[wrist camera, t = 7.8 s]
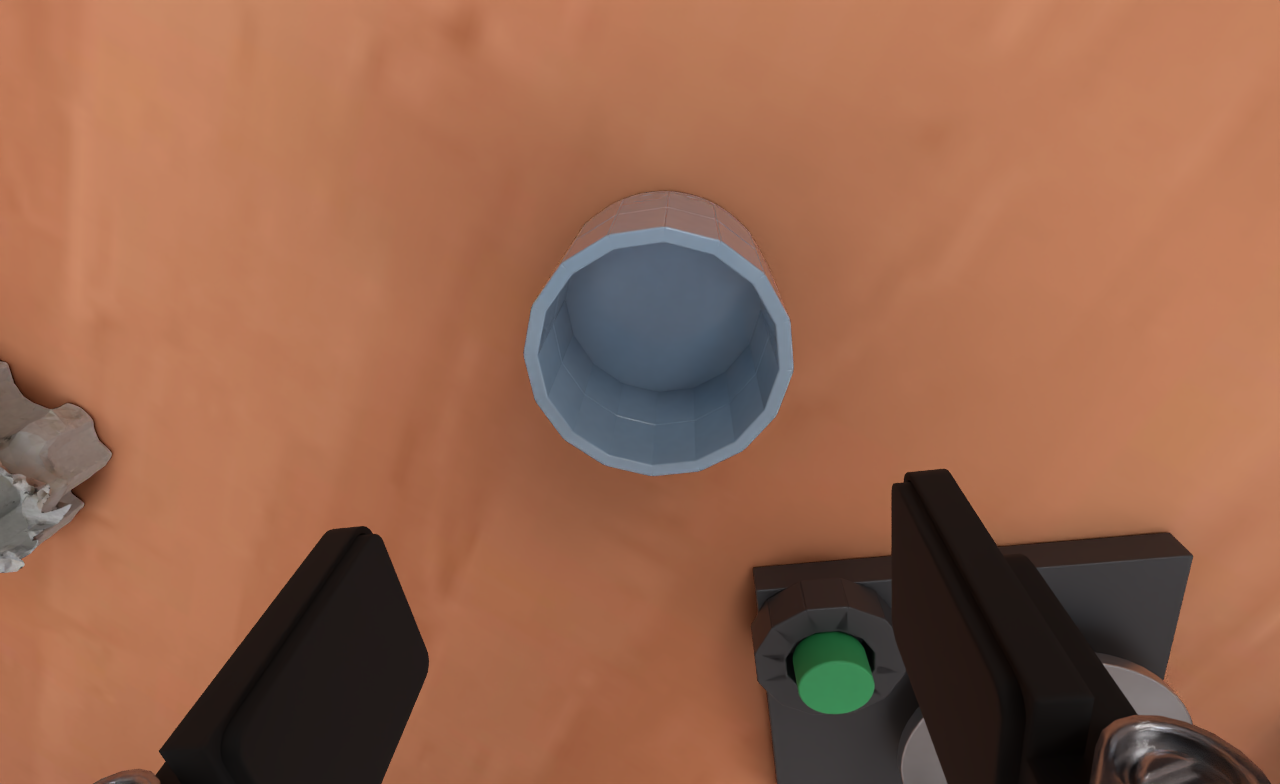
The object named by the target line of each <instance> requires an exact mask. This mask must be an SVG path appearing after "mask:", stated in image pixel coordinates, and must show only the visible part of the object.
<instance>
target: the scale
mask: <svg viewBox="0 0 1280 784" xmlns="http://www.w3.org/2000/svg"><path fill="white" fill-rule="evenodd" d="M998 548H999V550H1000V551H1001V553H1002V554H1003V555H1007V554H1019V553H1021V554H1023V555H1025V556H1027V557H1028V558H1029V559H1030V561H1031V562H1032V563H1033V564H1034V565H1035V567H1036V568H1037V570H1038V571H1039V573H1040V574H1041V575H1042V577H1043V578H1044V580H1045V581H1046V583H1047V584H1048V586H1049V587H1050V588H1051V590H1052V591H1053V593H1054V594H1055V596H1056V597H1057V599H1058V600H1059V601H1060V603H1061V604H1062V606H1063V607H1064V609H1065V610H1066V612H1067V613H1068V614H1069V616H1070V617H1071V619H1072V620H1073V622H1074V623H1075V625H1076V626H1077V627H1078V629H1079V630H1080V632H1081V633H1082V635H1083V636H1084V638H1085V639H1086V640H1087V642H1088V643H1089V645H1090V646H1091V648H1092V649H1093V651H1094V652H1096V653H1102V654H1107V655H1112V656H1115V657H1118V658H1122V659H1125V660H1128V661H1130V662H1133V663H1135V664H1138V665H1140V666H1142V667H1144V668H1146V669H1147V670H1149V671H1151V672H1152V673H1154V674H1156V675H1157V676H1158V677H1159V678H1161V679H1162V680H1164V675H1165V671H1166V667H1167V663H1168V659H1169V655H1170V651H1171V646H1172V642H1173V638H1174V634H1175V630H1176V626H1177V621H1178V617H1179V613H1180V609H1181V605H1182V601H1183V596H1184V592H1185V588H1186V584H1187V580H1188V576H1189V572H1190V567H1191V563H1192V559H1193V555H1192V554H1191V553H1190V552H1189V551H1188V550H1187V549H1186V548H1185V547H1184V546H1183V545H1182V544H1181V543H1180V542H1179V541H1178V540H1177V539H1176V538H1175V537H1174V536H1173V535H1172V534H1171V533H1158V534H1146V535H1134V536H1122V537H1110V538H1098V539H1087V540H1075V541H1063V542H1051V543H1039V544H1027V545H1015V546H1004V547H998ZM753 575H754V584H755V593H756V601H757V610H758V614H757V616H756V617H755V619H754V621H753V622H752V624H751V630H752V639H753V647H754V656H755V664H756V673H757V681H758V682H759V683H760V684H761V686H762V687H763V688H764V689H765V690H766V691H767V700H768V708H769V717H770V726H771V735H772V744H773V753H774V762H775V771H776V780H777V784H903V782H902V779H901V775H900V772H899V769H898V759H897V755H898V745H899V741H900V738H901V735H902V732H903V730H904V728H905V726H906V724H907V722H908V720H909V719H910V718H911V716H912V715H913V714H914V712H915V711H916V709H917V708H918V707H919V704H918V701H917V699H916V696H915V693H914V690H913V688H912V685H911V682H910V679H909V677H908V674H907V671H906V668H905V666H904V663H903V660H902V657H901V655H900V652H899V649H898V646H897V643H896V640H895V636H894V632H893V626H892V556H885V557H873V558H861V559H849V560H838V561H826V562H814V563H802V564H790V565H778V566H767V567H755V568H753ZM833 631H838V632H843V633H846V634H849V635H851V636H853V637H854V638H856V639H857V640H858V641H859V642H860V643H861V644H862V646H863V647H864V649H865V653H866V656H867V659H868V662H869V666H870V669H871V672H872V676H873V679H874V684H875V686H874V692H873V695H872V697H871V698H870V700H869V701H868V702H867V703H866V704H865V705H863V706H862V707H860V708H858V709H856V710H854V711H852V712H848V713H843V714H826V713H821V712H818V711H815V710H813V709H811V708H810V707H808V706H807V705H806V704H805V703H804V702H803V701H802V699H801V698H800V696H799V693H798V688H797V683H796V677H795V671H794V666H793V653H794V651H795V649H796V647H797V645H798V644H799V643H800V642H801V641H802V640H803V639H805V638H806V637H808V636H810V635H812V634H815V633H820V632H833Z"/></svg>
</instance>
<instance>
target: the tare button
mask: <svg viewBox="0 0 1280 784" xmlns="http://www.w3.org/2000/svg"><path fill="white" fill-rule="evenodd" d="M793 666H794V671H795V677H796V683H797V688H798V693H799V696H800V698H801V699H802V701H803V702H804V703H805V704H806V705H807V706H808V707H810V708H811V709H813V710H815V711H818V712H821V713H826V714H843V713H848V712H852V711H854V710H856V709H858V708H860V707H862V706H863V705H865V704H866V703H867V702H868V701H869V700H870V698H871V697H872V695H873V692H874V686H875V684H874V679H873V676H872V672H871V669H870V666H869V662H868V659H867V656H866V653H865V649H864V647H863V646H862V644H861V643H860V642H859V641H858V640H857V639H856V638H854V637H853V636H851V635H849V634H846V633H843V632H838V631H833V632H820V633H815V634H812V635H810V636H808V637H806V638H805V639H803V640H802V641H801V642H800V643H799V644H798V645H797V647H796V649H795V651H794V653H793Z"/></svg>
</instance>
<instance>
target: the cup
mask: <svg viewBox="0 0 1280 784" xmlns="http://www.w3.org/2000/svg"><path fill="white" fill-rule="evenodd" d="M523 353H524V360H525V364H526V368H527V372H528V375H529V379H530V383H531V387H532V391H533V395H534V399H535V400H536V403H537V404H538V406H539V407H540V408H541V410H542V411H543V412H544V414H545V415H546V416H547V418H548V419H549V420H550V422H551V423H552V424H553V426H554V427H555V428H556V430H557V431H558V432H559V434H560V435H561V436H562V438H563V439H564V440H565V441H567V442H569V443H570V444H572V445H573V446H575V447H576V448H578V449H579V450H581V451H583V452H584V453H586V454H587V455H589V456H590V457H592V458H594V459H595V460H597V461H598V462H600V463H601V464H603V465H604V464H605V466H609V467H613V468H618V469H622V470H626V471H631V472H635V473H639V474H643V475H648V476H651V475H652V476H660V475H670V474H680V473H689V472H698V471H699V470H700V471H702V470H704V469H706V468H708V467H710V466H712V465H714V464H716V463H719V462H721V461H723V460H725V459H727V458H729V457H731V456H733V455H735V454H737V453H740V452H742V451H743V450H745V448H746V447H747V446H748V445H749V444H750V443H751V442H752V441H753V440H754V439H755V438H756V437H757V436H758V435H759V434H760V433H761V432H762V431H763V429H764V428H765V427H766V426H767V425H768V424H769V423H770V422H771V421H772V420H773V419H774V418H775V417H776V415H777V414H778V411H779V408H780V406H781V403H782V400H783V398H784V395H785V392H786V390H787V387H788V384H789V382H790V379H791V376H792V374H793V369H794V364H793V349H792V334H791V321H790V318H789V316H788V313H787V311H786V308H785V306H784V303H783V301H782V298H781V296H780V293H779V291H778V289H777V286H776V284H775V281H774V279H773V276H772V274H771V271H770V269H769V267H768V265H767V263H766V261H765V259H764V258H763V256H762V254H761V252H760V250H759V247H758V245H757V244H756V242H755V241H754V239H753V237H752V235H751V234H750V232H749V231H748V230H747V229H746V228H745V227H744V226H743V225H742V224H741V223H740V222H739V221H738V220H737V219H736V218H735V217H734V216H732V215H731V214H730V213H729V212H727V211H726V210H724V209H723V208H721V207H720V206H718V205H716V204H714V203H712V202H710V201H708V200H706V199H703V198H700V197H697V196H694V195H691V194H686V193H681V192H672V191H656V192H646V193H642V194H637V195H633V196H630V197H627V198H625V199H622V200H619V201H617V202H615V203H614V204H612V205H610V206H608V207H606V208H605V209H603V210H602V211H601V212H599V213H598V214H597V215H595V216H594V217H593V218H592V219H591V220H589V221H588V222H586V223H585V224H584V226H583V227H582V229H581V230H580V232H579V233H578V234H577V236H576V237H575V239H574V240H573V242H572V243H571V245H570V246H569V248H568V249H567V251H566V252H565V254H564V255H563V256H562V258H561V260H560V261H559V263H558V264H557V266H556V268H555V269H554V271H553V272H552V274H551V276H550V277H549V279H548V280H547V282H546V284H545V285H544V287H543V288H542V290H541V292H540V293H539V295H538V296H537V298H536V300H535V301H534V303H533V304H532V307H531V312H530V318H529V323H528V329H527V335H526V341H525V346H524V352H523Z"/></svg>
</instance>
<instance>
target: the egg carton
mask: <svg viewBox="0 0 1280 784" xmlns="http://www.w3.org/2000/svg"><path fill="white" fill-rule="evenodd" d="M111 455H112V453H111V452H110V450H109V449H108V448H107V447H106V446H105V445H104V444H103V443H101V442H100V441H99V439H98V437H97V435H96V432H95V429H94V422H93V420H92V418H91V417H90V416H89V415H88V414H87V413H86V412H85V411H84V410H83V409H82V408H80V407H78V406H76V405H73V404H69V403H66V404H64V405H62V406H61V407H58V408H55V409H48V408H45V407H43V406H40V405H38V404H35V403H33V402H31V401H30V400H28V399H27V398H25V397H24V396H23V395H22V394H21V392H20V391H19V389H18V387H17V386H16V385H15V384H14V381H13V379H12V375H11V372H10V369H9V366H8V364H7V363H6V362H2V361H0V573H7V572H16V571H18V570H19V569H21V568H22V567H23V566H24V562H23V561H22V560H21V559H22V558H24V557H25V556H27V555H29V554H30V553H31V552H32V551H33V550H34V549H35V548H36V547H37V546H39V545H40V544H41V543H42V542H44V541H45V540H47V539H48V538H50V537H51V536H52V535H53V534H55V533H56V532H57V531H58V530H59V529H61V528H62V527H64V526H65V525H66V524H68V523H69V522H71V521H72V519H73V518H74V517H75V515H76V514H77V513H78V511H79V510H80V509H81V508H83V507H84V502H82V501H81V500H80V499H78V498H77V497H76V496H74V495H73V494H72V492H71V489H73V488H75V487H76V486H78V485H79V484H81V483H82V482H84V481H85V480H87V479H88V478H90V477H91V476H92V475H93V474H94V473H96V472H97V471H99V470H100V469H102V468H103V467H104V466H105V465H106V464H107V462H108V461H109V460H110V458H111Z"/></svg>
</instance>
